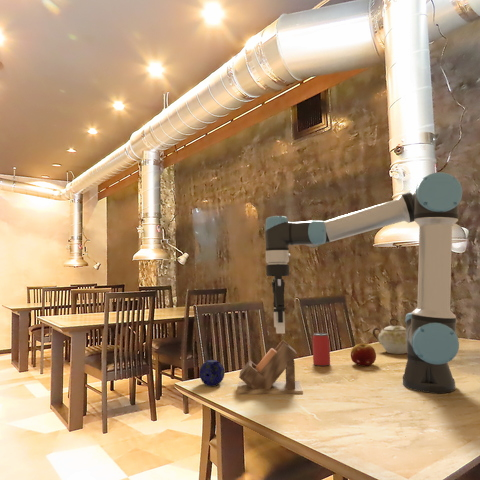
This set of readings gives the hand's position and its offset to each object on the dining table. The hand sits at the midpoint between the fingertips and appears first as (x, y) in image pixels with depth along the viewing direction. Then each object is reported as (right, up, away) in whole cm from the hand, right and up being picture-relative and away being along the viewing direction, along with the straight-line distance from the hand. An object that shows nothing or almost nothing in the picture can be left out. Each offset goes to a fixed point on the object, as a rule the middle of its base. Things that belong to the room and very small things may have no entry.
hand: (279, 330), depth 130 cm
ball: (-22, -19, +5) cm, 30 cm away
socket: (-3, -20, -1) cm, 20 cm away
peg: (-9, -16, -1) cm, 18 cm away
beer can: (+20, -21, +30) cm, 41 cm away
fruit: (+36, -20, +28) cm, 50 cm away
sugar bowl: (+57, -22, +51) cm, 80 cm away
